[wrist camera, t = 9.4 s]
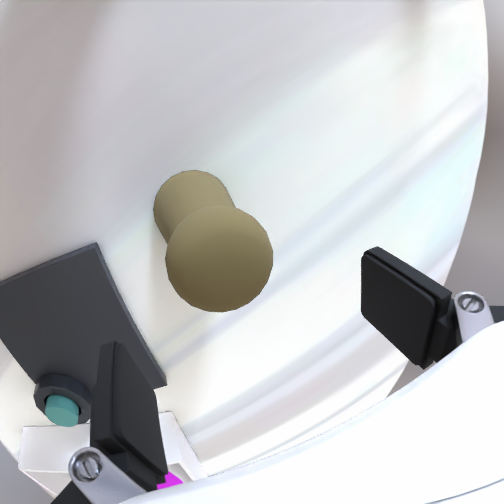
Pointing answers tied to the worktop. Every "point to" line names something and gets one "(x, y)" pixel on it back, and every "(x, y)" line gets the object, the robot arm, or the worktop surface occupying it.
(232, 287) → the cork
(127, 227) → the worktop surface
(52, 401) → the button
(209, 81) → the worktop surface
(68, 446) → the white tray with pad
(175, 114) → the worktop surface
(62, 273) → the scale
